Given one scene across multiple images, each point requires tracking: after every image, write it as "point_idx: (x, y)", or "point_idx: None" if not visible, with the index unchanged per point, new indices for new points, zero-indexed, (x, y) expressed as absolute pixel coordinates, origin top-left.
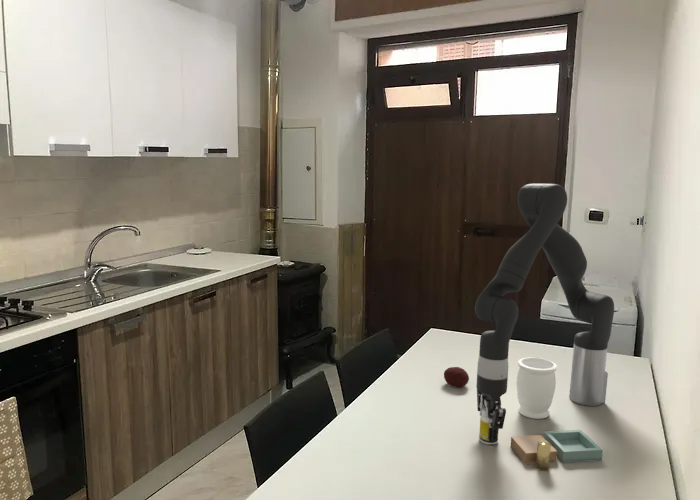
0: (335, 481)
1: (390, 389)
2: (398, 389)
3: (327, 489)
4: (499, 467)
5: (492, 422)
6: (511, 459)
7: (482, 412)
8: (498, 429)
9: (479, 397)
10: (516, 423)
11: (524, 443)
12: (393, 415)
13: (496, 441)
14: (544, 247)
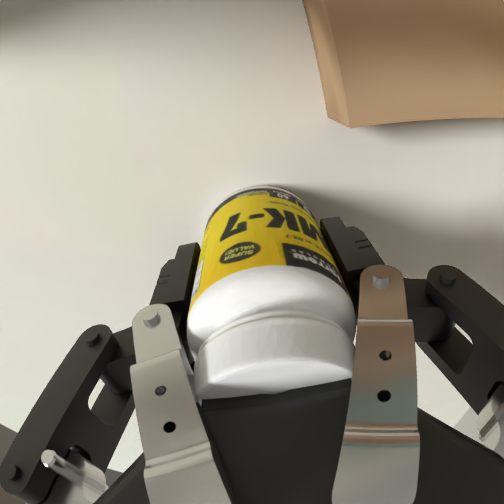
0: None
1: (15, 421)
2: (4, 410)
3: None
4: (484, 229)
5: (438, 362)
6: (450, 159)
7: None
8: (293, 224)
9: (103, 467)
10: (21, 49)
11: (435, 68)
12: (139, 448)
13: (304, 203)
14: None
